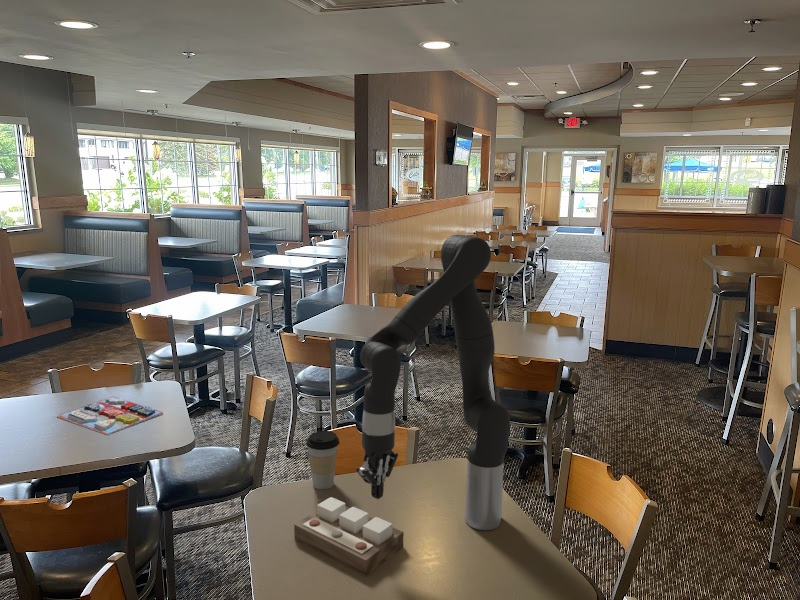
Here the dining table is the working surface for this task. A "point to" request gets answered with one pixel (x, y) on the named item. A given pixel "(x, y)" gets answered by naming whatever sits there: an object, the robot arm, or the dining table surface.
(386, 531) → the button
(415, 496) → the dining table surface
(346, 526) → the button
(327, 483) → the coffee cup
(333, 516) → the button
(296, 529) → the button panel
